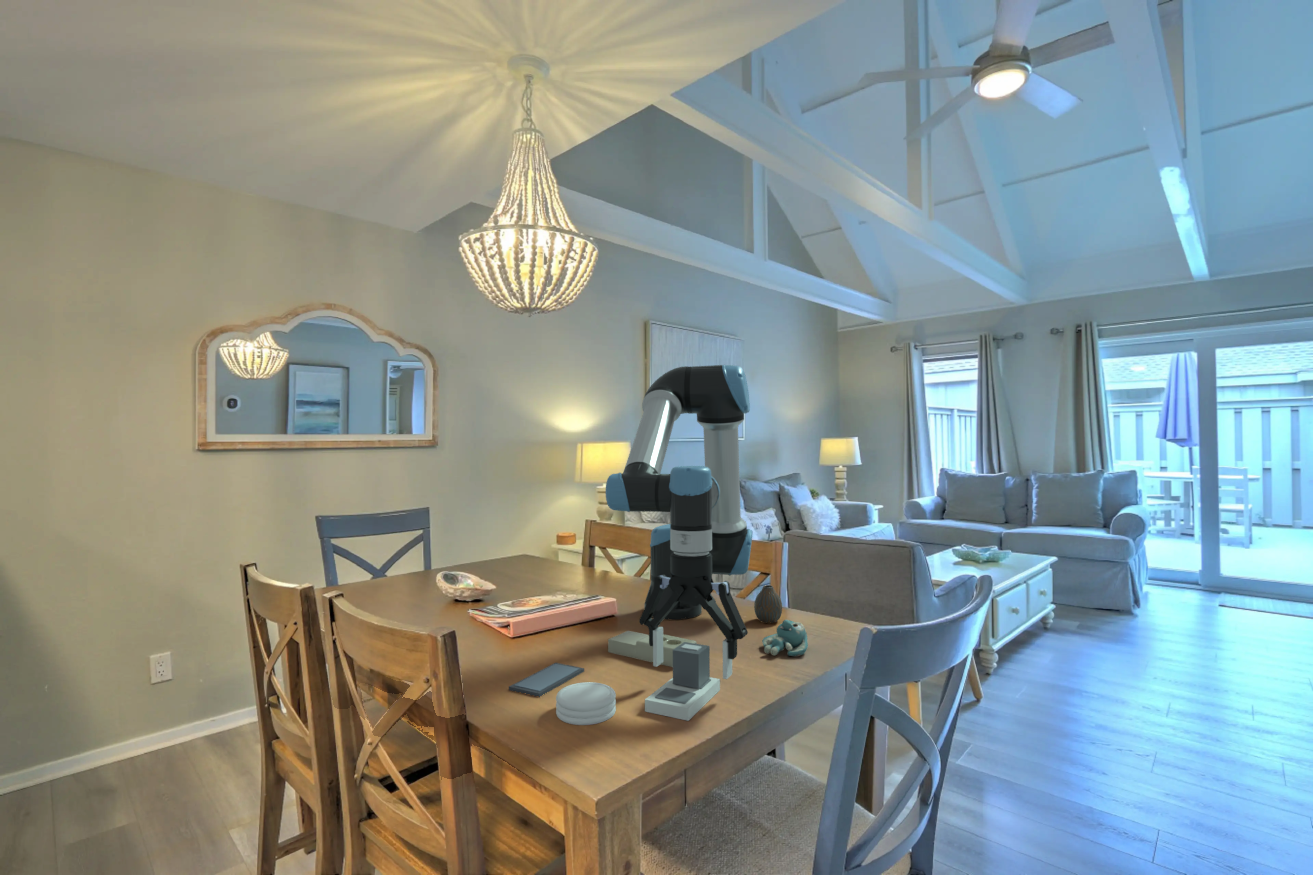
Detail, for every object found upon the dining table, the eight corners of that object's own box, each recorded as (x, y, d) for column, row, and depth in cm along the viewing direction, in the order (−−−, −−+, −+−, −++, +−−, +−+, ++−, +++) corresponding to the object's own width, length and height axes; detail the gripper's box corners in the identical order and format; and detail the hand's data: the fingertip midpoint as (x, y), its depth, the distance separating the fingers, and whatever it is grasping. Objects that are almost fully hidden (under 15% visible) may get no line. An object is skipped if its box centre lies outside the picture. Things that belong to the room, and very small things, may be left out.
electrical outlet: (628, 626, 142) (697, 640, 132) (628, 644, 142) (697, 659, 132) (608, 634, 136) (679, 650, 126) (608, 653, 136) (679, 670, 126)
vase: (754, 616, 162) (753, 582, 162) (781, 617, 161) (781, 583, 161) (754, 624, 155) (754, 588, 155) (783, 625, 154) (782, 589, 154)
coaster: (626, 717, 104) (626, 695, 104) (571, 732, 99) (571, 710, 99) (598, 696, 113) (598, 676, 113) (546, 709, 107) (546, 688, 107)
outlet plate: (680, 682, 118) (680, 670, 118) (720, 689, 115) (719, 677, 115) (644, 711, 106) (644, 698, 106) (688, 720, 102) (688, 707, 102)
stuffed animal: (745, 627, 135) (777, 606, 143) (749, 658, 136) (780, 636, 144) (788, 638, 127) (819, 615, 136) (792, 671, 128) (822, 646, 137)
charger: (684, 674, 117) (684, 640, 117) (709, 678, 114) (709, 644, 114) (672, 683, 112) (672, 648, 112) (698, 688, 110) (698, 652, 110)
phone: (555, 668, 128) (555, 661, 128) (584, 674, 124) (584, 667, 124) (508, 692, 115) (508, 685, 115) (539, 700, 112) (539, 692, 112)
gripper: (620, 550, 116) (621, 665, 116) (750, 561, 105) (751, 689, 105) (640, 543, 123) (641, 652, 123) (764, 554, 111) (765, 674, 111)
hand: (692, 670), depth 114 cm, fingers open, 13 cm apart
